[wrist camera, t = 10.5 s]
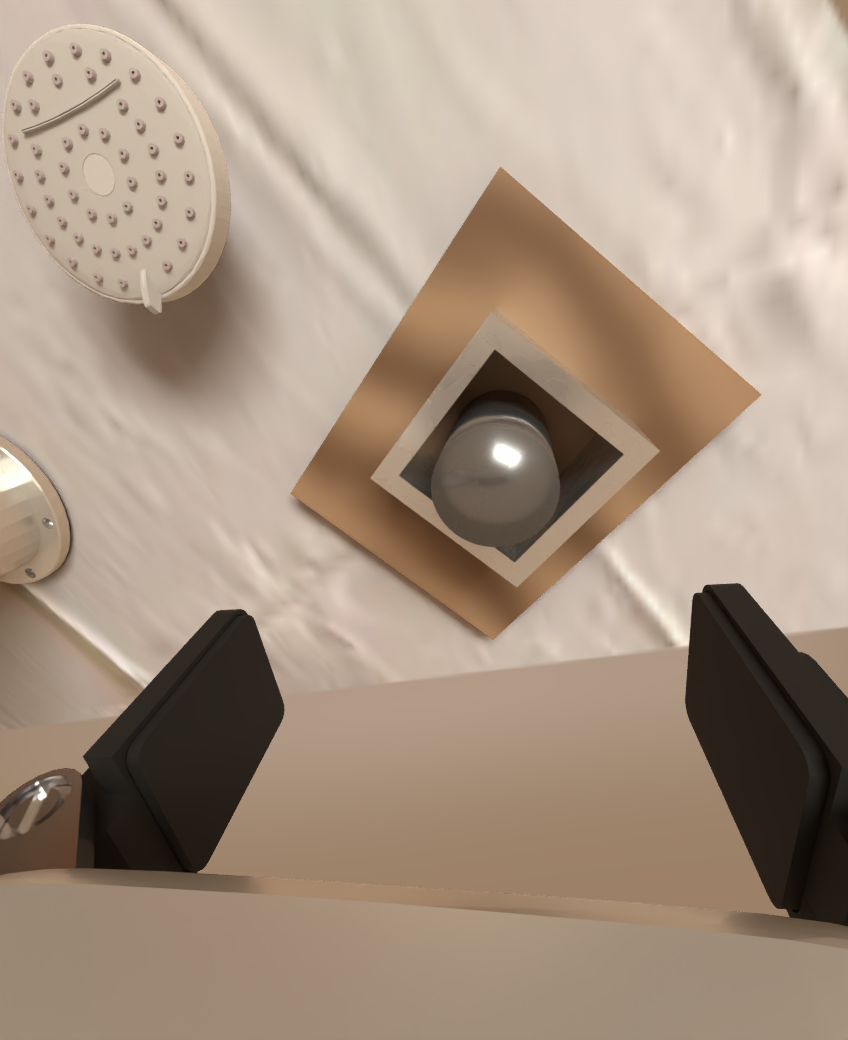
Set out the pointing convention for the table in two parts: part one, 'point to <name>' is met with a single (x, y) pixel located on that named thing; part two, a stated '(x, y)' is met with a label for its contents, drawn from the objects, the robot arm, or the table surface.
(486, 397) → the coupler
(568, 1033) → the robot arm
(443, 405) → the board
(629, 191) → the table surface
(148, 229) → the showerhead
